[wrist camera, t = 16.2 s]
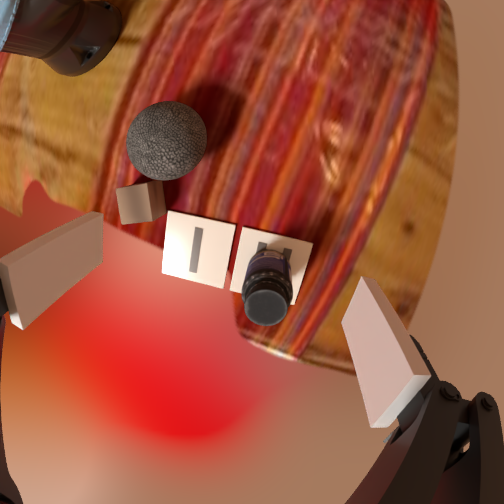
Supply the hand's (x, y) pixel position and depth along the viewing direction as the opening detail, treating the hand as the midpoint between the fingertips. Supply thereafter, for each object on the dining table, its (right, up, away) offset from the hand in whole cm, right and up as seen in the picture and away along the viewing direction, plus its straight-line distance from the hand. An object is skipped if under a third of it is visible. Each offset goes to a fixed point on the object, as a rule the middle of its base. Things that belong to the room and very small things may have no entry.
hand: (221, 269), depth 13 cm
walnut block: (-14, +9, +26) cm, 30 cm away
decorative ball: (-8, +16, +23) cm, 29 cm away
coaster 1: (-7, +1, +28) cm, 28 cm away
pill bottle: (+4, -1, +27) cm, 27 cm away
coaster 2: (+4, -1, +27) cm, 28 cm away
